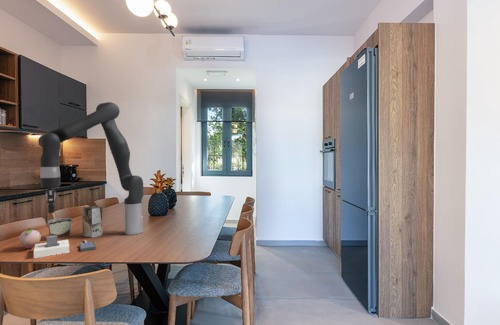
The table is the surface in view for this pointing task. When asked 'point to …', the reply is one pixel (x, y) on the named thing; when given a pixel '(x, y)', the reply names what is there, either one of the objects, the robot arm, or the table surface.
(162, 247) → the table surface
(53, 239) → the charger
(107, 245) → the table surface
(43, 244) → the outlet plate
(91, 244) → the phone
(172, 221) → the table surface
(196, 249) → the table surface
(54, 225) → the food container
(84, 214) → the coffee box
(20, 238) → the decorative fruit
